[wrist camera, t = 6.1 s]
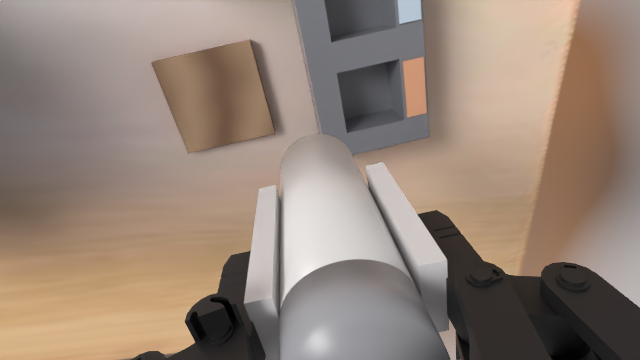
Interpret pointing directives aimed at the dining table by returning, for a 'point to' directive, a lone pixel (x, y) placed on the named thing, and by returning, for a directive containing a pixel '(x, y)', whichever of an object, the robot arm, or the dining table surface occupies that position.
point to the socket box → (365, 69)
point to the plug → (343, 266)
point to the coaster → (215, 96)
